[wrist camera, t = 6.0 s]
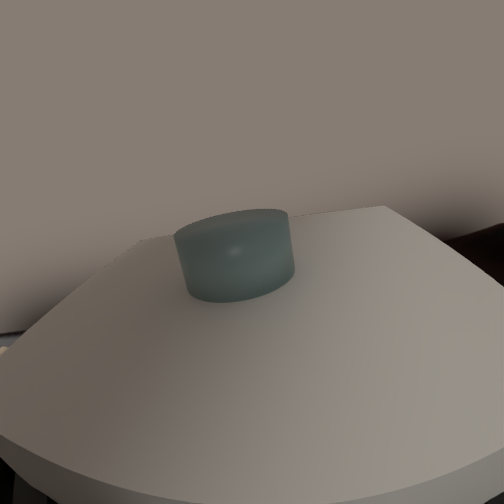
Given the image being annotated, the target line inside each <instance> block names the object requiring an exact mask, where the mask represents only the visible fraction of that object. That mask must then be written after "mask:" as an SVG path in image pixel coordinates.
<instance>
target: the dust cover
mask: <svg viewBox="0 0 504 504" xmlns="http://www.w3.org/2000/svg"><path fill="white" fill-rule="evenodd" d="M0 457H1V458H2V459H3V460H4V461H5V462H6V463H7V464H8V465H9V466H10V467H11V468H12V469H13V470H14V471H15V472H16V473H17V474H18V475H19V476H20V477H22V478H23V479H24V480H25V481H26V482H27V483H28V484H30V485H31V486H32V487H34V488H35V489H37V490H39V491H41V492H42V493H44V494H46V495H47V496H49V497H50V498H51V499H53V500H54V501H55V502H56V503H58V504H485V503H486V502H487V501H488V500H490V499H491V498H493V497H495V496H497V495H499V494H500V493H502V492H504V287H503V286H501V285H500V284H499V283H498V282H496V281H495V280H494V279H493V278H491V277H490V276H489V275H487V274H486V273H485V272H484V271H482V270H481V269H480V268H478V267H477V266H476V265H474V264H473V263H472V262H470V261H469V260H467V259H466V258H465V257H463V256H462V255H460V254H459V253H458V252H456V251H455V250H453V249H452V248H450V247H449V246H448V245H446V244H445V243H443V242H442V241H440V240H439V239H437V238H436V237H434V236H433V235H431V234H430V233H428V232H427V231H425V230H423V229H422V228H420V227H419V226H417V225H416V224H414V223H413V222H411V221H409V220H408V219H406V218H404V217H403V216H401V215H399V214H398V213H396V212H395V211H393V210H391V209H390V208H388V207H386V206H375V207H366V208H357V209H349V210H342V211H333V212H325V213H317V214H309V215H302V216H294V217H288V215H287V213H286V212H284V211H282V210H276V209H254V210H244V211H237V212H231V213H226V214H222V215H217V216H213V217H209V218H206V219H203V220H200V221H197V222H194V223H192V224H189V225H187V226H185V227H183V228H181V229H180V230H178V231H177V232H176V233H175V234H174V235H168V236H162V237H156V238H150V239H145V240H140V241H139V242H138V243H136V244H135V245H133V246H132V247H131V248H130V249H128V250H127V251H125V252H124V253H123V254H121V255H120V256H119V257H117V258H116V259H114V260H113V261H112V262H110V263H109V264H108V265H107V266H105V267H104V268H103V269H101V270H100V271H99V272H97V273H96V274H95V275H93V276H92V277H91V278H90V279H88V280H87V281H86V282H85V283H83V284H82V285H81V286H80V287H78V288H77V289H76V290H75V291H73V292H72V293H71V294H70V295H68V296H67V297H66V298H65V299H63V300H62V301H61V302H60V303H59V304H57V305H56V306H55V307H54V308H53V309H51V310H50V311H49V312H48V313H47V314H46V315H44V316H43V317H42V318H41V319H40V320H39V321H38V322H36V323H35V324H34V325H33V326H32V327H31V328H29V329H28V330H27V331H26V332H25V333H24V334H23V335H22V336H21V337H19V338H18V339H17V340H16V341H15V342H14V343H13V344H12V345H11V346H10V347H9V348H8V349H6V350H5V351H4V352H3V353H2V354H1V355H0Z"/></svg>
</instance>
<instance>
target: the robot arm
mask: <svg viewBox="0 0 504 504" xmlns="http://www.w3.org/2000/svg"><path fill="white" fill-rule="evenodd" d="M0 504H58V503H56V502H55V501H54V500H53V499H51V498H50V497H49V496H47V495H46V494H44V493H42V492H41V491H39V490H37V489H35V488H34V487H32V486H31V485H30V484H28V483H27V482H26V481H25V480H24V479H23V478H22V477H20V476H19V475H18V474H17V473H16V472H15V471H14V470H13V469H12V468H11V467H10V466H9V465H8V464H7V463H6V462H5V461H4V460H3V459H2V458H1V457H0ZM485 504H504V492H502V493H500V494H499V495H497V496H495V497H493V498H491V499H490V500H488V501H487V502H486V503H485Z"/></svg>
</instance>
